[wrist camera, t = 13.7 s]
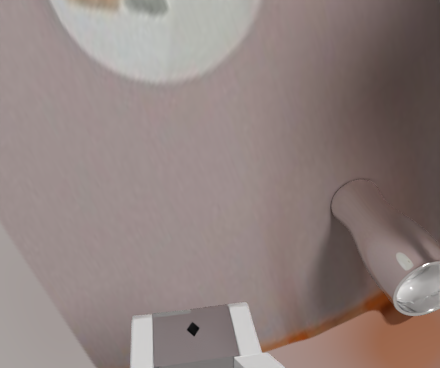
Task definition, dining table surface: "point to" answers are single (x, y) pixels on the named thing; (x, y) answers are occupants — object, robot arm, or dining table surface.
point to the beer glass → (391, 247)
